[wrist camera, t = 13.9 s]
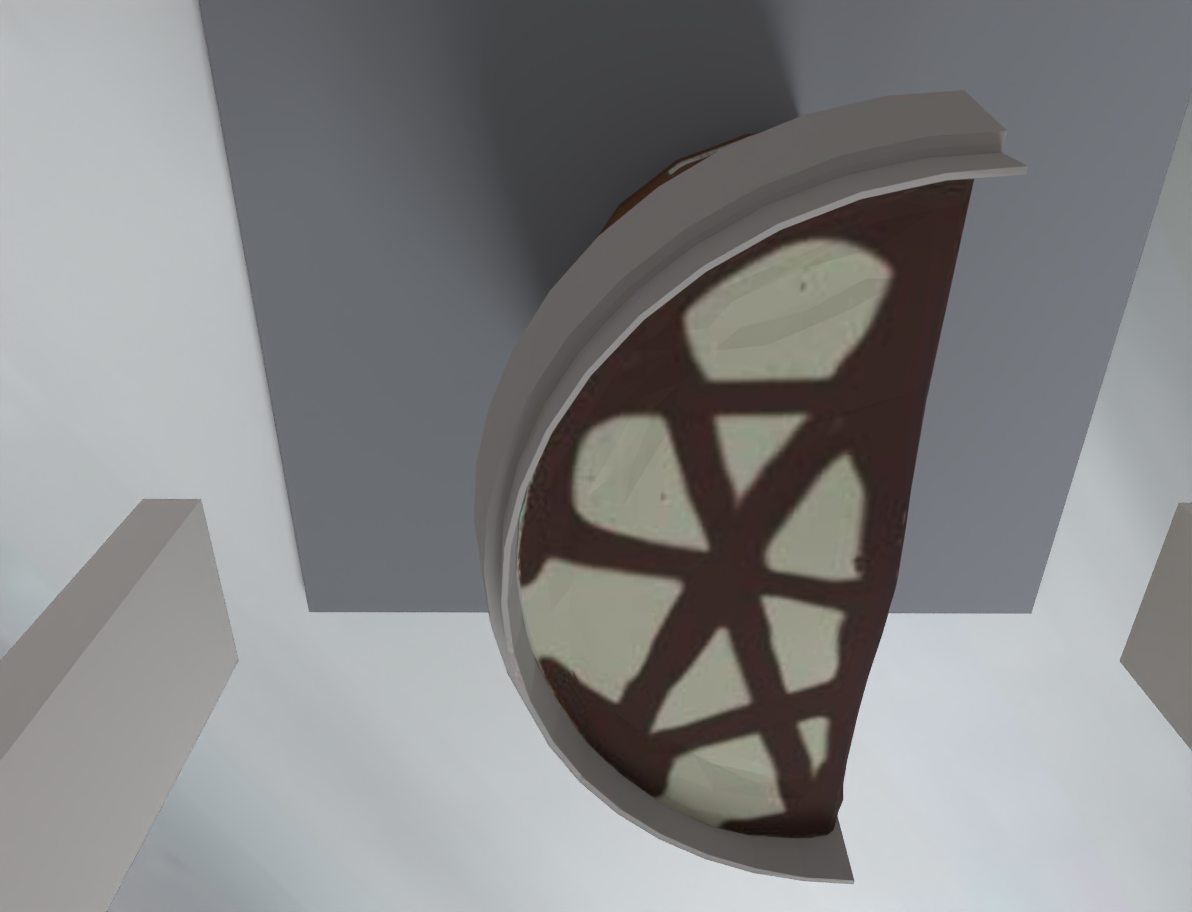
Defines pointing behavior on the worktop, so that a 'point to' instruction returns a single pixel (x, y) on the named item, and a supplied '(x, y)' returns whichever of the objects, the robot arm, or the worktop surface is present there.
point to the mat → (613, 173)
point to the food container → (729, 470)
